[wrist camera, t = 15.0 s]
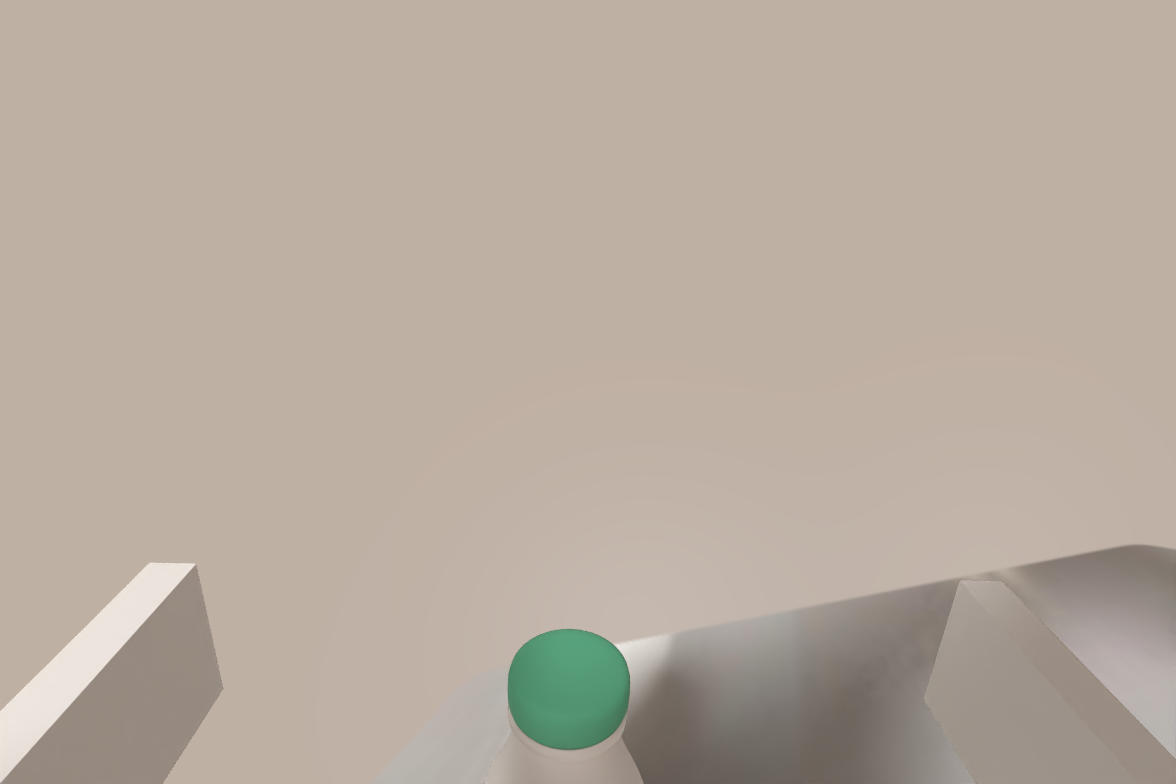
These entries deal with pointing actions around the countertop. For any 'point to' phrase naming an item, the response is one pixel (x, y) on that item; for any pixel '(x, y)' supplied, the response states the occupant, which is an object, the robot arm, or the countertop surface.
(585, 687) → the milk bottle
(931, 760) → the countertop surface
